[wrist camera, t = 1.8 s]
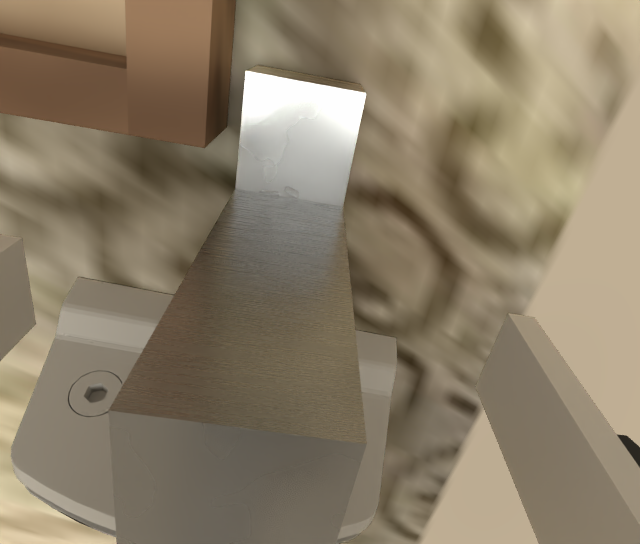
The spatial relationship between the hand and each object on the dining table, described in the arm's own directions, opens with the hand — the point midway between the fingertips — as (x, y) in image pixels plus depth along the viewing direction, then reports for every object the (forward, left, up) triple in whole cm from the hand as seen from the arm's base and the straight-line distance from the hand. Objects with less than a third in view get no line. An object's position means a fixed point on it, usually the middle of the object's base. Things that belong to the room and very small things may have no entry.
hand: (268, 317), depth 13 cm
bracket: (+2, 0, -8) cm, 9 cm away
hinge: (-9, +2, -9) cm, 13 cm away
